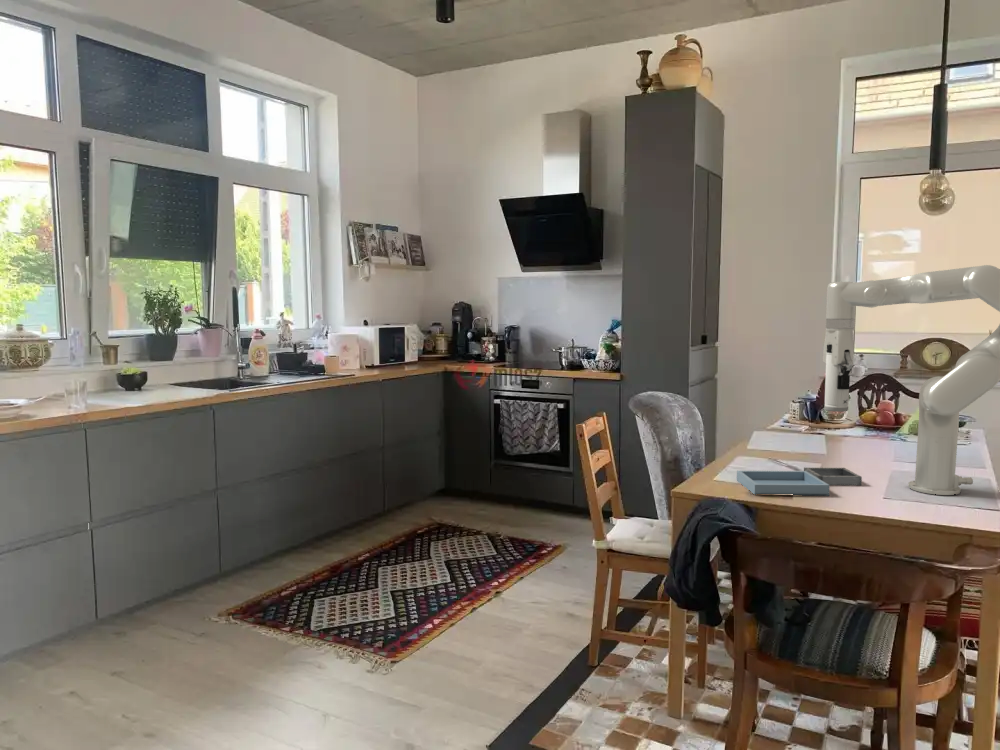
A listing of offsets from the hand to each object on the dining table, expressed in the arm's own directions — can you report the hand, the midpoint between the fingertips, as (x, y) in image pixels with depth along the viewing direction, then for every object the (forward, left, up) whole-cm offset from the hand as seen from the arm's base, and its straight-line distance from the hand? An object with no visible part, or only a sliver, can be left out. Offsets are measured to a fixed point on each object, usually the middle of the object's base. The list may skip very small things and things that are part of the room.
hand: (837, 387), depth 214 cm
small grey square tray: (0, 0, -27) cm, 27 cm away
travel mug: (0, 0, -7) cm, 7 cm away
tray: (+18, +9, -27) cm, 34 cm away
